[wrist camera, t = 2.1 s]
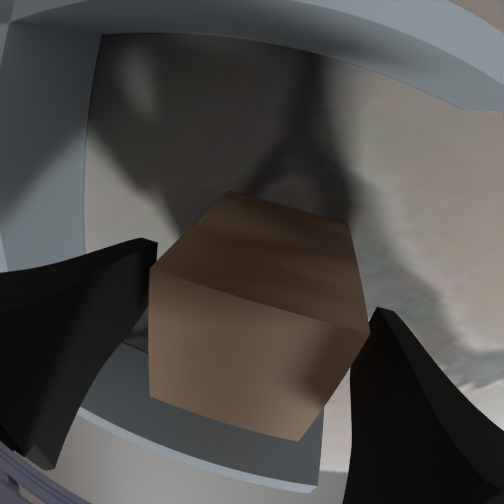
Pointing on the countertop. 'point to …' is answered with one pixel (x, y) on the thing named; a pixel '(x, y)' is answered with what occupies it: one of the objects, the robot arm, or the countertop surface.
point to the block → (255, 316)
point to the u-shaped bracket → (73, 154)
